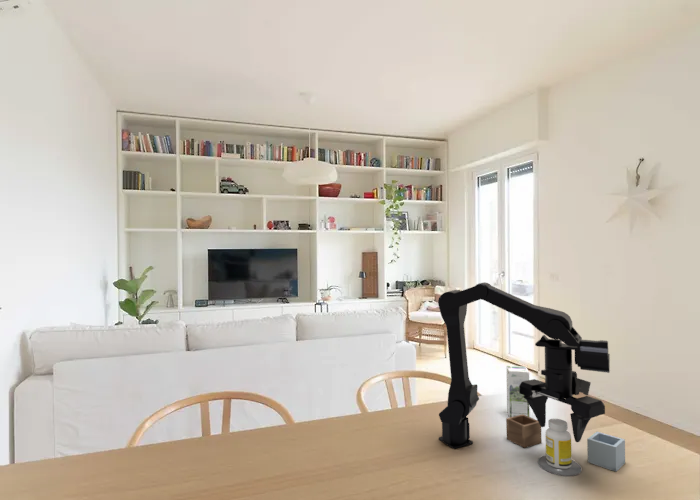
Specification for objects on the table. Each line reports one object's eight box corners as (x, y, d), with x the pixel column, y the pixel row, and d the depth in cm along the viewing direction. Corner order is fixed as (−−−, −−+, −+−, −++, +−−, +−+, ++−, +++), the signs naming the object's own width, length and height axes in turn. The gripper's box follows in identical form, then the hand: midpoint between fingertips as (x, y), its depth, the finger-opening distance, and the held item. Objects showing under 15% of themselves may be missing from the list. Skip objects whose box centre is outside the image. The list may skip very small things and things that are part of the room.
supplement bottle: (573, 462, 101) (573, 420, 101) (569, 472, 96) (568, 428, 96) (548, 456, 104) (548, 415, 104) (543, 465, 100) (542, 422, 100)
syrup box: (526, 412, 132) (525, 365, 132) (530, 420, 126) (529, 371, 126) (506, 411, 133) (506, 364, 133) (509, 419, 128) (508, 370, 128)
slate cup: (616, 471, 97) (615, 447, 97) (587, 462, 101) (587, 438, 101) (625, 462, 101) (624, 439, 101) (597, 453, 105) (597, 431, 105)
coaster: (563, 479, 94) (563, 478, 94) (529, 461, 102) (529, 460, 102) (590, 470, 98) (590, 468, 98) (555, 453, 106) (555, 451, 106)
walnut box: (524, 448, 109) (524, 426, 109) (506, 439, 114) (506, 418, 114) (541, 443, 112) (541, 422, 112) (523, 434, 117) (522, 414, 117)
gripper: (620, 371, 95) (621, 442, 95) (548, 353, 112) (549, 414, 112) (587, 379, 90) (588, 453, 90) (517, 359, 107) (518, 422, 107)
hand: (559, 433), depth 100 cm, fingers open, 9 cm apart
